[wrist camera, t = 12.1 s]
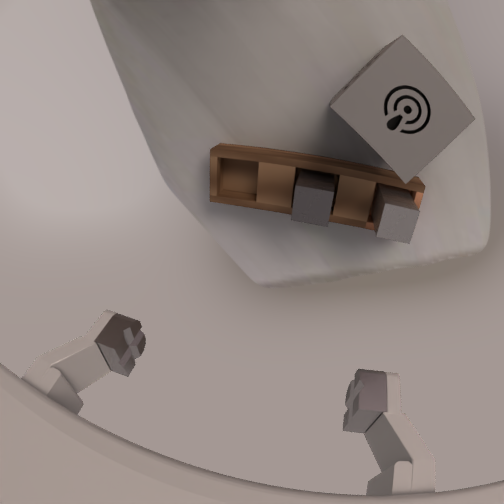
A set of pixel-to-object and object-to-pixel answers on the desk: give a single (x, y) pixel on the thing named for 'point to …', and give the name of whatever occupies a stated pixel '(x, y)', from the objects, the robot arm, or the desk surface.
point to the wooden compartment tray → (285, 178)
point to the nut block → (394, 213)
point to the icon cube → (402, 108)
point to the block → (313, 197)
